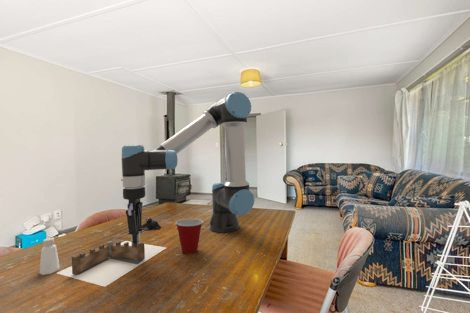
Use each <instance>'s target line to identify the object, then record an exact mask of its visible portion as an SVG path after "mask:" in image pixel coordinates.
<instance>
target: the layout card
mask: <svg viewBox="0 0 470 313" xmlns="http://www.w3.org/2000/svg"><path fill="white" fill-rule="evenodd" d="M126 242H129V246H132V242H131V241H129V240H125V241H121V245H124V243H126ZM144 249H145V259H144V260H142V261H141V260H137V259H128V258H119V257H109V258H107V259H105V260H103V261H101V262H99V263H97V264H95V265H93V266H91V267H89V268H87V269H85V270H83V271H81V272H80V273H78V274H76V275H74V274H72V265H71V266H69V267H66V268H65V269H62V270H60V271H57V272H56V275H60V276H65V277H68V278H71V279H75V280H79V281H82V282H86V283H88V284H89V283H90V284H93V285H97V286H101V287H104V288H106V287H107V286H108V285H110V284H112V283H115V281H116V280H118V279H119V278H121V277H123V276H125V275H126V274H127V273H129V272H131V271H132V270H134V269H136V268H138V267H139V266H140V265H142V264H144V263H146V262H147V261H149V260H150V259H151V258H153V257H155V256H156V255H158V254H159V253H161V252H162V251H164V250H166V249H167V247H165V246H158V245H152V244H146V243H144Z"/></svg>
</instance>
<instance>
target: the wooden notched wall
mask: <svg viewBox="0 0 470 313" xmlns="http://www.w3.org/2000/svg"><path fill="white" fill-rule="evenodd" d="M121 243H122V241H121V240H118V241H116V242H115V243H114V241H113V240H110V241H107V243H106V246H108V257H119V258H128V259H137V260H141V261H142V260H144V259H145V249H144V244H145V243H144V242H140V244H138V246H137V243H133V244H132V246H129V242H126V243H124V245H121Z"/></svg>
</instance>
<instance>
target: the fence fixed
mask: <svg viewBox="0 0 470 313" xmlns="http://www.w3.org/2000/svg"><path fill="white" fill-rule="evenodd" d="M107 258H109V257H108V246H107V245H105V244H99V245H98V248H97V249H96V248H94V247H91V248H90V249H89V252H88V253H87V254H86V253H85V252H81V253H79V254H75V255H72V256H71V266H72V274H74V275H76V274H78V273H80V272H81V271H83V270H85V269H87V268H89V267H91V266H93V265H95V264H97V263H99V262H101V261H103V260H105V259H107Z"/></svg>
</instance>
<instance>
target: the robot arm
mask: <svg viewBox="0 0 470 313" xmlns="http://www.w3.org/2000/svg"><path fill="white" fill-rule="evenodd" d="M251 111H252V103H251V101H250V99H249V97H248V96H247V95H246V94H244V93H243V92H240V91H234V92H230V93H228V94H226V95H225V96H223V97H221V98H219V99H217V100H216V101H215V102H214V103H213V104H212V105H210V106H209V107H208V108H207V109H205V110H204V111H202V115H201V116H200V117H197V119H195V120H194V121H192V122H190V123H189V124H188V125H186V126H185V127H184V128H182V129H181V130H180V131H178V132H177V133H175V134H173V135H172V136H171V137H170V138H168V139H167V140H165V141H163V142H162V143H161V144H160V145H158V146H156V148H154V149H153V150H152V149H150V150H148V149H145V146H144V145H142V144H136V145H135V144H128V145H126V144H125V145H123V146H122V148H121V172H122V174H121V176H122V178H121V179H120V181H121V182H122V187H123V189H122V198H123V200H127V201H128V203H127V209H126V211H125V215H126V219H127V226H128V228H127V229H128V235H129V236H130V238H131V241H130V242H132V244H133V243H137V246H138V244H140V243H141V233H140V232H141V231H143V228H141V227H142V226H141V225H143V224H142V217H143V216H142V215H143V201H141V200H142V199H143V198H145V197H146V187H145V186H146V175H145V173H146V171H155V170H156V171H157V170H173V169H177V167H178V154H179V153H180V152H181V151H182V150H184V149H186V148H187V147H188V146H190V145H191V144H192V143H193V142H195V141H197V139H199V138H201V137H202V136H203V135H205V134H206V133H207V132H209V130H211V129H216V128H217V127H219V126H220V125H221V126H222V127H223V128H224V137H225V139H224V140H225V164H226V181H225V182H218V183H213V184H212V189H211V192H212V193H211V195H212V196H211V197H212V198H211V199H212V201H211V202H212V215H211V218H210V221H209V230H210V231H212V232H216V233H231V232H235V231H237V230H238V229H240V221H239V218H238V216H244V215H247V214H249V212H251V211H252V209H253V207H254V205H255V196H254V193H253V192H252V191H250V183H249V181H247V179H246V176H247V175H246V153H245V150H246V148H245V147H246V146H245V126H246V125H247V124H248V116H249V115H250V114H251ZM140 228H141V229H140Z"/></svg>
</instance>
